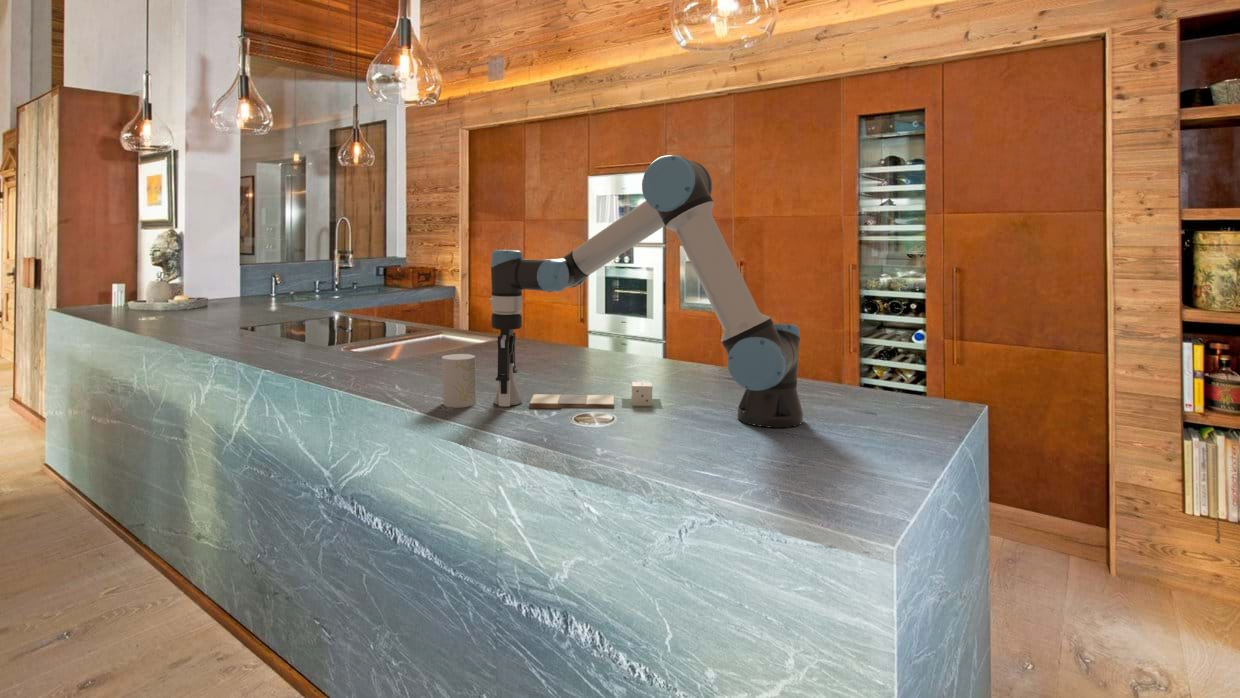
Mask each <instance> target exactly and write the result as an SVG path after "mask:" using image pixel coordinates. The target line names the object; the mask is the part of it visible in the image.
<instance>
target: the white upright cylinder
mask: <svg viewBox="0 0 1240 698" xmlns="http://www.w3.org/2000/svg"><path fill="white" fill-rule="evenodd" d="M476 367H477V366H476V355H474V354H470V353H454V354H447V355H445V354H444V355H442V357H441V370H442V371H441V372H442V373H441V374H442V402H443V403H442V404H443V406H444V407H447V408H456V409H457V408H458V409H459V408H469V407H472V406H475V405H476V404H477V376H476V375H477V373H476V372H477V371H476V369H477V368H476Z"/></svg>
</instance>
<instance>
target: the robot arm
mask: <svg viewBox="0 0 1240 698" xmlns="http://www.w3.org/2000/svg"><path fill="white" fill-rule="evenodd" d="M641 182H642V183H641V191H642V195H643V198H644V200H645V201H643V202H641V204H639V205H638V206H636V207H634V208H633V209H632V210H630V211H629V212H627V213H625V214H623V216H621V217H620V218H618V219H617V220H616V221H614V222H613V223H611V224H609V225H608V226H607V227H605V228H603V229H602V230H601V231H600V232H598V233H597V234H595V235H594V236H592V237H590V238H589V239H587V240H586V241H585V242H583V243H582V244H580V245H579V246H577V247H576V248H574V249H573V250H572V251H571V252H568V253H567V254H566V255H565V256H563V257H560V258H550V259H549V258H548V259H538V258H537V259H531V258H528V259H527V258H524V257H523V253H522V251H521V250H516V249H495V250H493V252H492V253H491V263H490V264H491V265H490V275H491V279H490V280H491V298H489V300H488V302H489V303H491V311H492V313H491V314H490V315H491V316H490V318H491V320H490V321H491V325H490V326H491V328H493V329H495V330H500V333H499V335H498V336H497V341H496V342H497V376H496V377H495V381H496V382H498V388H499V405H498V407H511V405H510V380H509V379H510V378H509V371H510V363H511V364H514V367H513V376H514V377H515V374H517V373H518V369H516V368H517V367H516V366H517V365H516V340H517V339H516V332H514V330H518V329H519V330H520V329H521V328H522V326H523V314H522V313H521V312H522V311H523V291H525V290H527V291H528V290H529V291H541V292H547V293H552V292H562V291H564V290H565V289H566V288H567V289H568V288H571V289H572V288H575V287H578V286H580V285H582V284H584V282H586V279H587V278H588V277H589V276H590V275H591V274H593V273H595V272H596V271H598V270H599V269H601V268H603V267H604V266H605V265H608V264H609V263H610V262H612V261H613V260H615V259H616V258H618V257H620V256H621V255H622V254H624V253H625V252H627V251H628V250H630V249H631V248H633V247H635V246H636V245H637V244H639V243H641V242H642V241H644V240H645V239H647V238H649V237H650V236H651V235H654V233H656V232H658V231H659V230H661V229H662V228H664V227H665V228H666V230H669V231H673V232H675V234H676V236H677V237H678V239H679V241H680V244H681V246H682V248H683V250H684V252H685V254H686V256H687V258H688V260H689V262H690V264H691V266H692V268H693V270H694V273H695V274H696V276H697V279H698V280H699V283H700V285H701V287H702V288H703V291H704V292H705V294H706V295H705V296H706V298H707V299H708V301H709V303H710V305H711V307H712V310H713V311H714V314H715V315H716V318H717V319H718V323H719V324H720V326H721V327H722V330H723V332H722V336H721V339H720V341H721V344H722V345H723V348H724V350H725V352H726V354H727V356H728V357H727V369H728V372H729V374H730V376H731V378H732V379H733V381H735V383H736V384H738V386H740V387H742V388H744V392H743V393H742V396H741V399H740V401H739V404H738V406H737V414H736V417H738V418H739V419H740V420H742V421H744V422H746V423H745V424H747V423H750V424H755V425H761V426H770V427H769V428H771V427H786V428H789V427H788V426H794V425H798V424H800V423H802V424H803V422H802V421H803V420H804V411H803V407H802V404H801V400H800V396H799V394H798V375H799V373H798V372H799V357H800V355H799V354H800V341H801V335H800V334H801V333H800V331H801V330H800V328H799V326H798V325H797V324H791V323H790V324H787V323H774V322H773V320H772V317H771V316H769V315H765V314H763V313H762V312H760V310H759V308H758V306H757V303H756V302H755V300H754V298H753V296H752V294H751V291H750V290H749V287H748V286H747V283H746V281H745V279H744V277H743V275H742V273H741V271H740V270H739V267H738V265H737V263H736V262H735V259H734V257H733V255H732V253H731V251H730V248H729V247H728V245H727V243H726V241H725V239H724V237H723V234H722V232H721V230H720V229H719V227H718V224H717V222H716V220H715V219H714V216H713V214H712V212H713V208H714V207H715V202H714V200H713V198H712V196H711V195H712V192H713V181H712V176H711V174H710V173H709V171H708V169H707V168H706V167H705V166H703V165H702V164H701V163H699V162H697V161H694V160H690V159H687V158H686V157H683V156H681V155H678V154H677V155H674V154H673V155H669V154H668V155H663V156H660V157H658V158H656V159H655V160H654V161H652V162H651V163H650V164H649V165H648V167H647V168H646V170H645V172H644V173H643V177H642V181H641ZM502 374H504V375H502ZM738 418H737V419H738ZM739 419H738V420H739ZM740 420H739V421H740ZM742 421H741V422H742ZM744 422H743V423H744ZM750 424H749V425H750ZM755 425H754V426H755ZM800 425H801V424H800ZM761 426H760V427H761ZM798 426H799V425H798ZM794 427H795V426H794Z"/></svg>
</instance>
